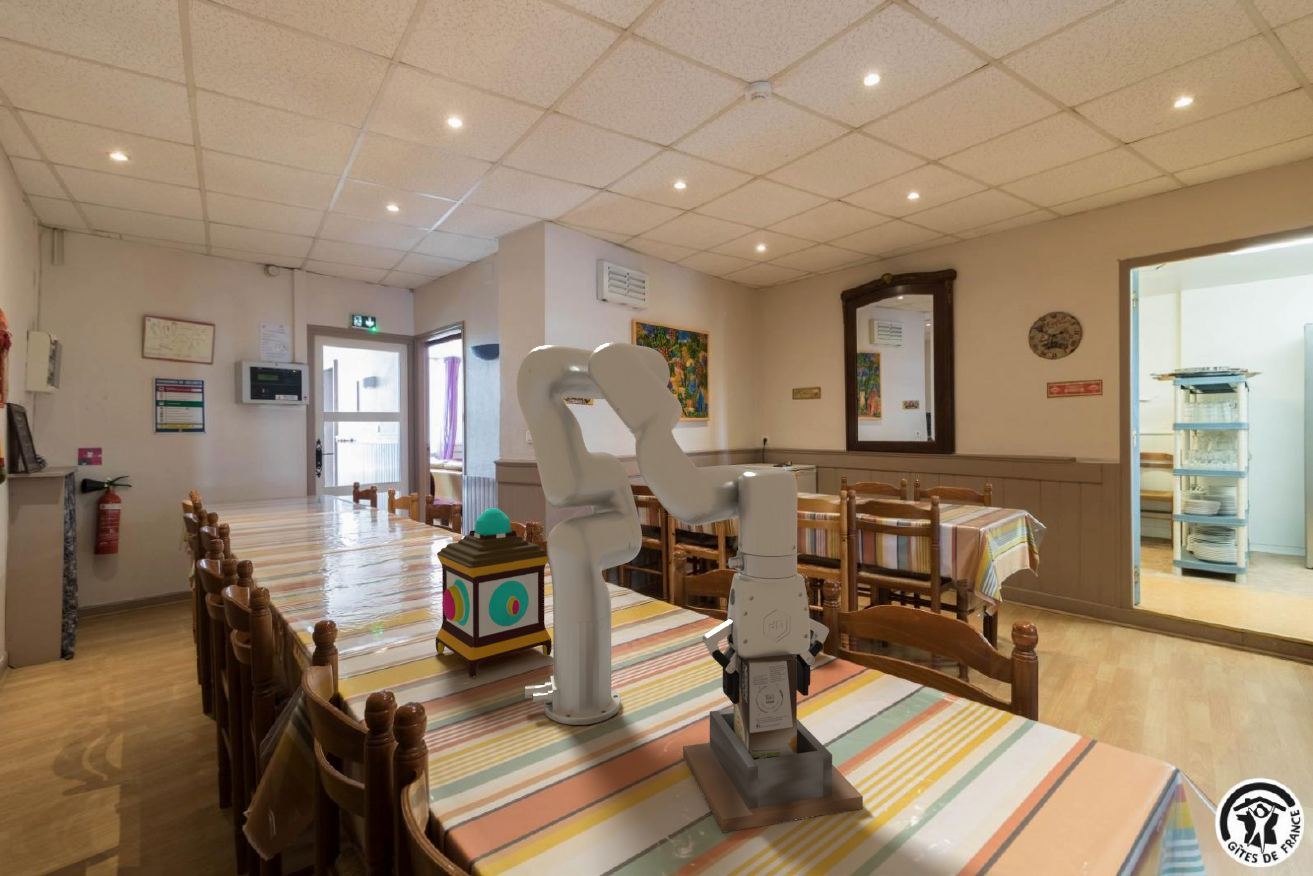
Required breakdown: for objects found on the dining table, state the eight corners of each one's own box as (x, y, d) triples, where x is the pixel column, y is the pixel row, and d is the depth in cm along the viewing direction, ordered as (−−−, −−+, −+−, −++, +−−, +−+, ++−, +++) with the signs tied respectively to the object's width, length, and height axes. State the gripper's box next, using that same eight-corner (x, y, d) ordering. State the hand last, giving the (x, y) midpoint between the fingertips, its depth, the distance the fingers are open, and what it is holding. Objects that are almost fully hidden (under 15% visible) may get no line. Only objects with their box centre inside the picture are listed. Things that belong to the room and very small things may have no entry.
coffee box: (799, 788, 73) (799, 660, 73) (748, 792, 72) (748, 662, 72) (775, 748, 82) (776, 634, 82) (731, 751, 81) (730, 636, 81)
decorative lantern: (466, 684, 106) (465, 518, 105) (425, 653, 121) (425, 507, 120) (561, 656, 119) (561, 508, 119) (514, 631, 134) (514, 499, 134)
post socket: (722, 832, 67) (722, 776, 67) (683, 756, 83) (683, 710, 83) (862, 808, 72) (863, 755, 71) (800, 740, 87) (800, 697, 87)
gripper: (714, 575, 71) (713, 716, 71) (842, 567, 75) (841, 701, 75) (695, 561, 78) (694, 690, 79) (813, 555, 82) (812, 677, 83)
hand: (766, 695), depth 77 cm, fingers open, 9 cm apart
